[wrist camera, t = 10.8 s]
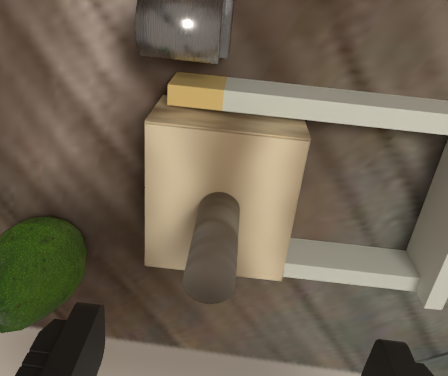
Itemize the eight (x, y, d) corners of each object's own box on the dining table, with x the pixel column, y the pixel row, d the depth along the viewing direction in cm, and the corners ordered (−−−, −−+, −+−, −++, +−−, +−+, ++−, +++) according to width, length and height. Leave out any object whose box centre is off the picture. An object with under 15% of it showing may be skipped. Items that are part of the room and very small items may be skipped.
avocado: (99, 204, 39) (41, 292, 28) (101, 268, 43) (52, 368, 32) (15, 193, 39) (-74, 277, 28) (25, 259, 43) (-50, 355, 32)
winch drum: (152, 42, 32) (127, 60, 25) (152, -16, 30) (126, -11, 24) (229, 50, 32) (224, 71, 25) (235, -7, 30) (230, 0, 23)
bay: (170, 237, 40) (158, 278, 35) (176, 71, 33) (162, 91, 27) (416, 264, 40) (441, 309, 35) (480, 104, 32) (525, 130, 27)
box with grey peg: (160, 219, 39) (114, 347, 26) (163, 93, 33) (105, 176, 20) (277, 232, 39) (290, 367, 26) (300, 108, 33) (332, 201, 20)
